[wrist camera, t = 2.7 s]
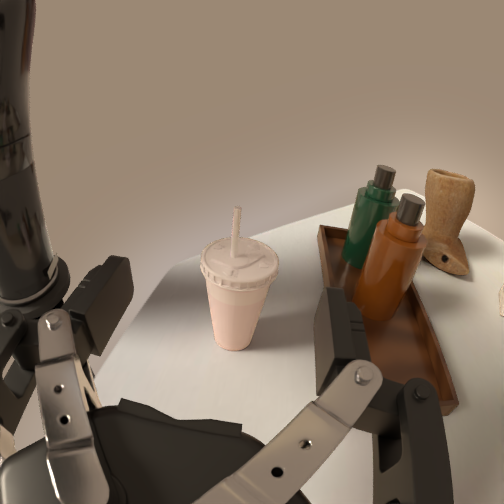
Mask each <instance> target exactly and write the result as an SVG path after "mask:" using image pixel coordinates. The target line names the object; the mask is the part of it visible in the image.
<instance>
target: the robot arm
mask: <svg viewBox="0 0 504 504" xmlns="http://www.w3.org/2000/svg"><path fill="white" fill-rule="evenodd" d="M35 15H36V3H35V0H0V303H2V304H3V305H6V306H10V307H19V306H25V305H28V304H31V303H33V302H35V301H37V300H39V299H41V298H42V297H44V296H45V295H46V294H47V293H48V292H49V291H50V290H51V289H52V288H53V287H54V285H55V284H56V282H57V280H58V276H59V270H58V266H57V262H58V256H57V253H56V255H55V256H54V255H53V251H52V248H51V244H50V239H49V235H48V231H47V227H46V223H45V218H44V214H43V209H42V204H41V200H40V194H39V188H38V182H37V176H36V169H35V162H34V155H33V146H32V137H31V126H30V99H29V98H30V97H29V96H30V94H29V80H30V62H31V52H32V43H33V36H34V27H35ZM133 292H134V286H133V280H132V274H131V268H130V262H129V259H128V258H126V257H120V256H114V255H111V256H109V257H108V259H107V260H106V261H105V263H104V264H103V265H98V266H97V267H95V268H94V269H92V270H91V271H89V272H88V274H87V275H86V276H85V277H84V279H83V281H81V283H80V284H79V285H78V287H77V288H76V289H75V290H74V291H73V293H72V294H71V295H70V297H69V298H68V299H67V301H66V302H65V303H64V305H63V306H62V307H61V309H52V310H50V311H47V312H46V313H44V314H43V315H42V316H41V318H40V319H24V317H23V315H22V313H21V311H20V310H18V309H8V310H6V311H4V312H2V313H1V314H0V504H311V503H310V501H309V500H308V499H307V498H306V496H305V495H304V494H303V493H302V491H301V490H300V488H301V487H302V486H303V485H304V484H305V483H306V482H307V481H308V480H309V479H310V478H311V476H312V475H313V474H314V473H315V472H316V471H317V470H318V469H319V467H320V466H321V465H322V464H323V463H324V462H325V461H326V459H327V458H328V457H329V456H330V455H331V453H332V452H333V451H334V450H335V449H336V447H337V446H338V445H339V444H340V442H341V441H342V440H343V439H344V437H345V436H346V435H347V433H348V432H349V431H350V429H351V428H352V427H353V428H356V429H359V430H362V431H366V432H369V433H372V441H373V504H454V499H453V487H452V477H451V468H450V461H449V453H448V447H447V440H446V435H445V429H444V423H443V418H442V413H441V408H440V403H439V399H438V394H437V391H436V389H435V387H434V386H433V385H432V384H431V383H430V382H429V381H427V380H425V379H423V378H412V379H410V380H409V381H407V382H406V384H401V383H398V382H395V381H392V380H389V379H386V378H384V377H383V376H382V373H381V371H380V370H379V368H378V367H377V366H376V365H374V364H373V363H372V361H371V356H370V351H369V346H368V342H367V337H366V332H365V328H364V324H363V319H362V314H361V311H360V310H359V309H358V307H357V306H356V305H355V303H354V302H346V298H345V293H344V289H343V288H335V287H327V286H325V287H324V288H323V291H322V295H321V298H320V301H319V305H318V308H317V311H316V315H315V319H314V345H315V367H316V396H319V397H318V398H317V399H316V400H315V401H311V402H310V403H309V404H308V405H307V406H306V407H305V408H304V409H303V410H302V411H301V412H300V413H299V414H298V415H297V416H296V417H295V418H294V419H293V420H292V421H291V422H290V423H289V424H288V425H287V426H286V427H285V428H284V429H283V430H282V431H280V432H279V433H278V434H277V435H276V436H275V437H274V438H273V439H272V440H271V441H270V442H269V443H268V444H267V445H264V444H263V443H262V442H261V441H259V440H258V439H256V438H255V437H253V436H251V435H249V434H246V433H244V432H241V431H242V424H238V423H231V422H225V421H219V420H213V419H202V420H177V419H174V418H172V417H170V416H168V415H166V414H164V413H162V412H160V411H158V410H156V409H154V408H152V407H150V406H148V405H144V404H141V403H137V402H134V401H130V400H127V399H123V398H121V400H120V402H119V405H115V406H105V407H102V405H101V403H100V400H99V397H98V394H97V391H96V387H95V383H94V380H93V376H92V372H91V368H90V364H89V361H88V357H89V356H90V354H94V355H97V356H101V354H102V352H103V350H104V348H105V347H106V345H107V343H108V341H109V339H110V337H111V336H112V334H113V332H114V330H115V328H116V326H117V325H118V323H119V321H120V319H121V317H122V316H123V314H124V312H125V311H126V309H127V307H128V305H129V304H130V302H131V300H132V297H133ZM11 356H13V358H14V359H15V360H14V362H13V364H12V365H11V367H10V369H9V371H8V372H7V374H6V376H5V378H4V380H3V378H2V372H3V369H4V367H5V366H6V364H7V362H8V361H9V359H10V357H11ZM36 385H37V393H38V400H39V407H40V413H41V419H42V424H43V430H44V435H45V437H44V438H42V439H40V440H38V441H37V442H35V443H33V444H31V445H29V446H27V447H26V448H23V449H21V450H20V451H18V452H17V451H16V449H15V447H14V446H15V442H14V438H13V436H14V433H15V431H16V428H17V426H18V424H19V421H20V419H21V417H22V415H23V412H24V410H25V408H26V406H27V404H28V402H29V399H30V397H31V395H32V393H33V391H34V389H35V387H36Z"/></svg>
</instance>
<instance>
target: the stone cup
mask: <svg viewBox="0 0 504 504" xmlns="http://www.w3.org/2000/svg"><path fill="white" fill-rule="evenodd" d="M474 193H475V184H474V181H473V180H470V179H469V178H467V177H466V176H463V175H460V174H456V173H451V172H448V171H444V170H440V169H430V170H429V171H428V174H427V180H426V186H425V199H426V224H425V226H424V229H423V231H422V234H423V235H424V236H425V238H426V239H427V246H426V249H425V251H424V254H423V256H424V257H425V258H426V259H427V260H428V261H430V262H431V263H432V264H433V265H434V266H436V267H437V268H439V269H441V270H443V271H445V272H449V273H452V274H457V275H467V274H468V273H469V267H468V261H467V258H466V254H465V250H464V247H463V244H462V242H461V240H460V239H459V238H458V236H459V233H460V230H461V228H462V226H463V224H464V222H465V220H466V218H467V217H468V215H469V213H470V210H471V207H472V203H473V198H474Z"/></svg>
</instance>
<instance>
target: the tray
mask: <svg viewBox="0 0 504 504" xmlns="http://www.w3.org/2000/svg"><path fill="white" fill-rule="evenodd" d="M347 231H348V229H343V228H337V227H331V226H323V225H320V226H319V231H318V235H317V239H318V246H319V253H320V260H321V267H322V274H323V282H324V287H325V286H327V287H335V288H343V289H344V293H345V298H346V302H352V294H353V292H354V289H355V286H356V284H357V281H358V278H359V275H360V273H361V269H358V268H355V267H353V266H351V265H349V264H348V263H347V262H345V260H344V259H343V258H342V255H341V252H342V248H343V245H344V241H345V238H346V234H347ZM362 319H363V324H364V328H365V332H366V337H367V342H368V346H369V351H370V356H371V361H372V363H373V364H374V365H376V366H377V367H378V368H379V370H380V371H381V373H382V376H383V377H384V378H386V379H389V380H392V381H395V382H398V383H401V384H406V382H407V381H409V380H410V379H412V378H423V379H425V380H427V381H429V382H430V383H431V384H432V385H433V386H434V387H435V389H436V391H437V394H438V399H439V403H440V408H441V413H442V416H447V415H449V414H450V413H451V412H452V411H453V410H454V409H455V408H456V407H457V406H458V405H459V401H458V398H457V394H456V391H455V388H454V385H453V382H452V379H451V376H450V373H449V370H448V367H447V364H446V361H445V359H444V356H443V353H442V350H441V348H440V345H439V343H438V340H437V337H436V335H435V332H434V330H433V327H432V325H431V322H430V320H429V317H428V315H427V313H426V310H425V308H424V306H423V303H422V301H421V299H420V297H419V294H418V292H417V290H416V288H415V286H414V283H413V281H411V283H410V285H409V287H408V290H407V292H406V294H405V296H404V298H403V300H402V302H401V304H400V306H399V308H398V310H397V312H396V314H395V316H394V317H393V318H391V319H390V320H387V321H375V320H372V319H369V318H367V317H365V316H363V315H362Z"/></svg>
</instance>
